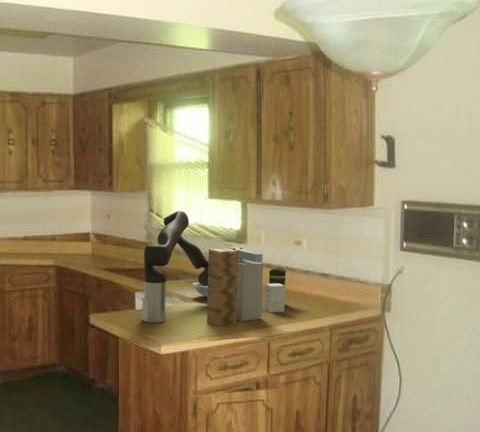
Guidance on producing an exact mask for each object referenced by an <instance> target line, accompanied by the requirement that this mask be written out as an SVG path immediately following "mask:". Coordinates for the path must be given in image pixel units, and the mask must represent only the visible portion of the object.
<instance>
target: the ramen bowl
mask: <svg viewBox="0 0 480 432" xmlns="http://www.w3.org/2000/svg"><path fill="white" fill-rule="evenodd" d="M187 283H192V286H193V287H194V289H195V291H196V292H197V293H198V294H199V295H201V296H203V297H206V298H207V299H208V286H202V285H201V284H200V283H199V282H198V280H196V281H193V282H192V281H189V282H188V281H187Z"/></svg>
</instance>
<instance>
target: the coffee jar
mask: <svg viewBox="0 0 480 432" xmlns="http://www.w3.org/2000/svg"><path fill="white" fill-rule="evenodd" d="M268 272H269V273H268V284H276V283H280V284H282V285H284V286H285V287H286V274H287V273H286V272H287V271H286V269H285V268H284V267H280V266H279V267H273V268H272V269H269V271H268Z"/></svg>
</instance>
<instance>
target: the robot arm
mask: <svg viewBox="0 0 480 432" xmlns="http://www.w3.org/2000/svg"><path fill="white" fill-rule="evenodd" d="M189 222H190V221H189V217H188V215H187V214H186V212H185V211H182V210H177V211H174V212H173V213H171V214H168V215H167V216H166V217H164V218H163V225H164V227H163V228H162V229H161V230H160V232H159V234H158V235H157V243H158V244H146V246H145V247H144V250H143V253H144V254H143V262H144V265H143V266H144V295H143V298H142V309H141V310H142V311H141V314H142V315H141V320H142V321H144V322H146V323H154V324H155V323H163V322H166V295H167V293H166V292H167V291H166V288H167V277H166V276H167V275H166V274H164V273H162V272H159V271H158V270H157V269H155V268H154V267H166V266H167V265H168V264H169V263H170V260H171V257H172V254H173V251H174V249H175V247H176V245H178V246H179V247H180V248H181V249H182V251H183V252H184V254H185V255H186V257H187V258H188V260H189V262H190V263H191V264H192V266H193V268H194V269H195V270H198V269H204V270H203V271H201V272H200V273H199V274H198V276H197V281H198V282H199V283H200V284H201V285H202V286H208V260H207V259H206V257H205V255H204V253H203V252H202V250H201V249H200V248H199V246H197V245H196V244H194V243H192V242H191V241H189V240H187V239H186V238H184V237H183V236H182V234H183V233H184V231H185V230H186V229H187V228H188V226H189ZM232 248H233V249H232V250H235V248H236V247H232ZM239 249H243V250H244V248H243V247H239ZM238 260H239V261H243V259H241V258H238Z"/></svg>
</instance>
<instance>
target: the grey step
mask: <svg viewBox="0 0 480 432" xmlns="http://www.w3.org/2000/svg"><path fill="white" fill-rule="evenodd" d="M263 274H264V263H262V262H253V261H249V260H245V259H242V260H238V279H237V315H236V320H239V321H243V322H244V321H253V320H261V319H262V309H263V307H262V306H263V277H264V276H263Z"/></svg>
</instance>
